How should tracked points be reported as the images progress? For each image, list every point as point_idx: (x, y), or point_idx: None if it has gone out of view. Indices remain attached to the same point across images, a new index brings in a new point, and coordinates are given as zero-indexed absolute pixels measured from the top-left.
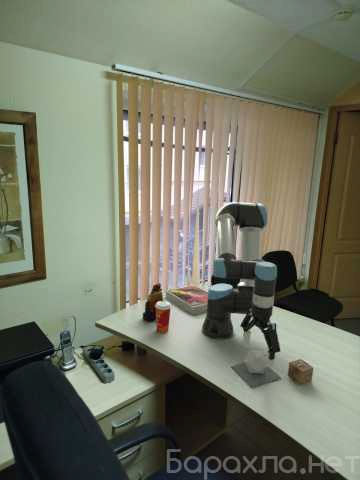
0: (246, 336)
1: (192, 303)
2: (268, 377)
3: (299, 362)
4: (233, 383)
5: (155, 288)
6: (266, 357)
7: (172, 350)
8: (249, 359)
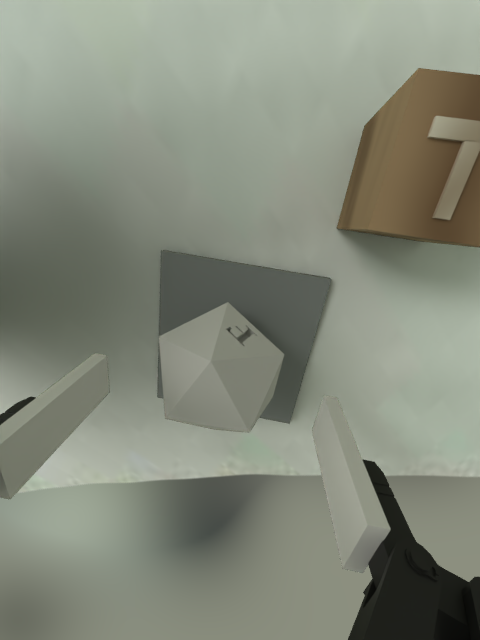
0: (47, 446)
1: None
2: (291, 331)
3: (434, 148)
4: (236, 444)
5: None
6: (326, 489)
7: None
8: (210, 427)
